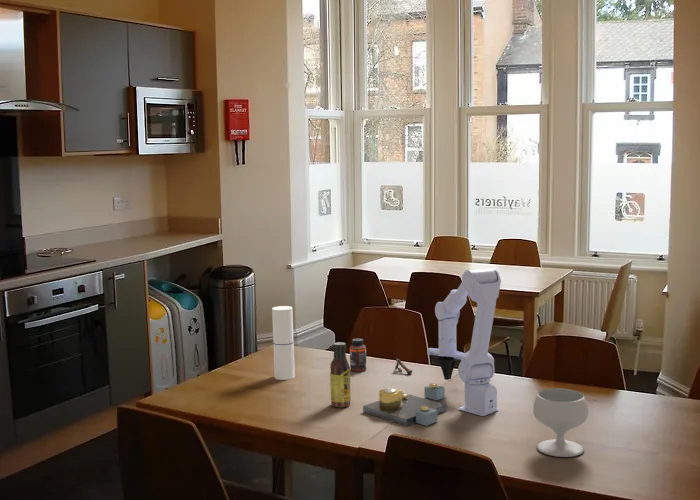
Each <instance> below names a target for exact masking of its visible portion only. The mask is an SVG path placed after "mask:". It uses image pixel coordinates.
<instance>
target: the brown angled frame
mask: <svg viewBox="0 0 700 500" xmlns="http://www.w3.org/2000/svg"><path fill="white" fill-rule="evenodd" d="M395 361H396V365H395V367H394V370H397V371H398V372H399V373H403V370H405V372H406V375H407V376H409V375H412V373H413V369H410V368H408V367H407V366H406V365H405V364H404V363H403V362H402V361H401V359H399V358H396V360H395ZM399 366H400V367H399Z"/></svg>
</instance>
